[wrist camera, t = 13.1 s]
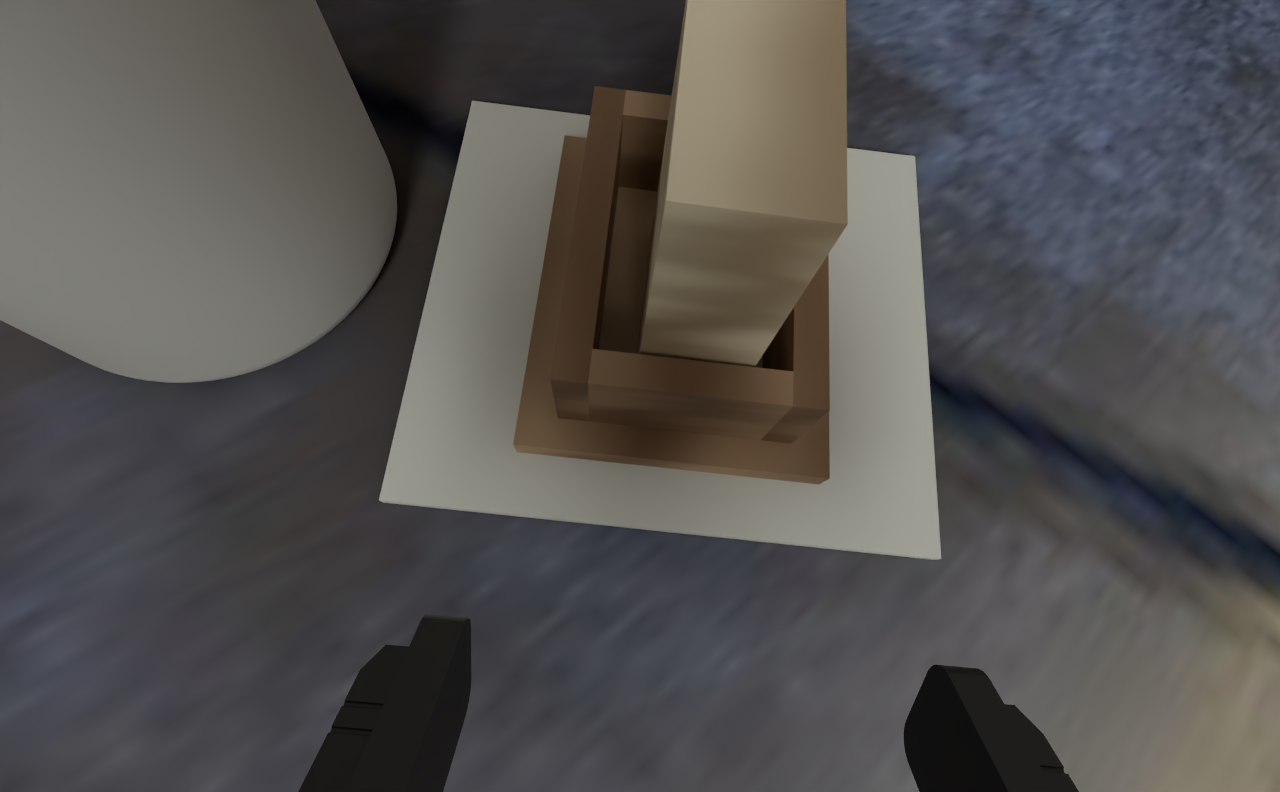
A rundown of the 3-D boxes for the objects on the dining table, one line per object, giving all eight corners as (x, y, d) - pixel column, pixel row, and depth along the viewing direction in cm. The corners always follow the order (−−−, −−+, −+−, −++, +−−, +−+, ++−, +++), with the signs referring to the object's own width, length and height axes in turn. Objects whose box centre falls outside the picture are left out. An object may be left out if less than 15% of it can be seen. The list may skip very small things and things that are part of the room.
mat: (382, 502, 20) (378, 500, 20) (474, 108, 25) (472, 100, 25) (935, 559, 21) (941, 558, 20) (910, 162, 26) (915, 156, 25)
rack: (517, 452, 20) (496, 409, 16) (565, 153, 24) (559, 56, 20) (818, 484, 21) (876, 451, 16) (818, 184, 25) (864, 95, 20)
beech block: (632, 392, 20) (666, 200, 11) (650, 234, 22) (692, -44, 13) (730, 404, 20) (847, 224, 11) (739, 246, 22) (845, -21, 13)
